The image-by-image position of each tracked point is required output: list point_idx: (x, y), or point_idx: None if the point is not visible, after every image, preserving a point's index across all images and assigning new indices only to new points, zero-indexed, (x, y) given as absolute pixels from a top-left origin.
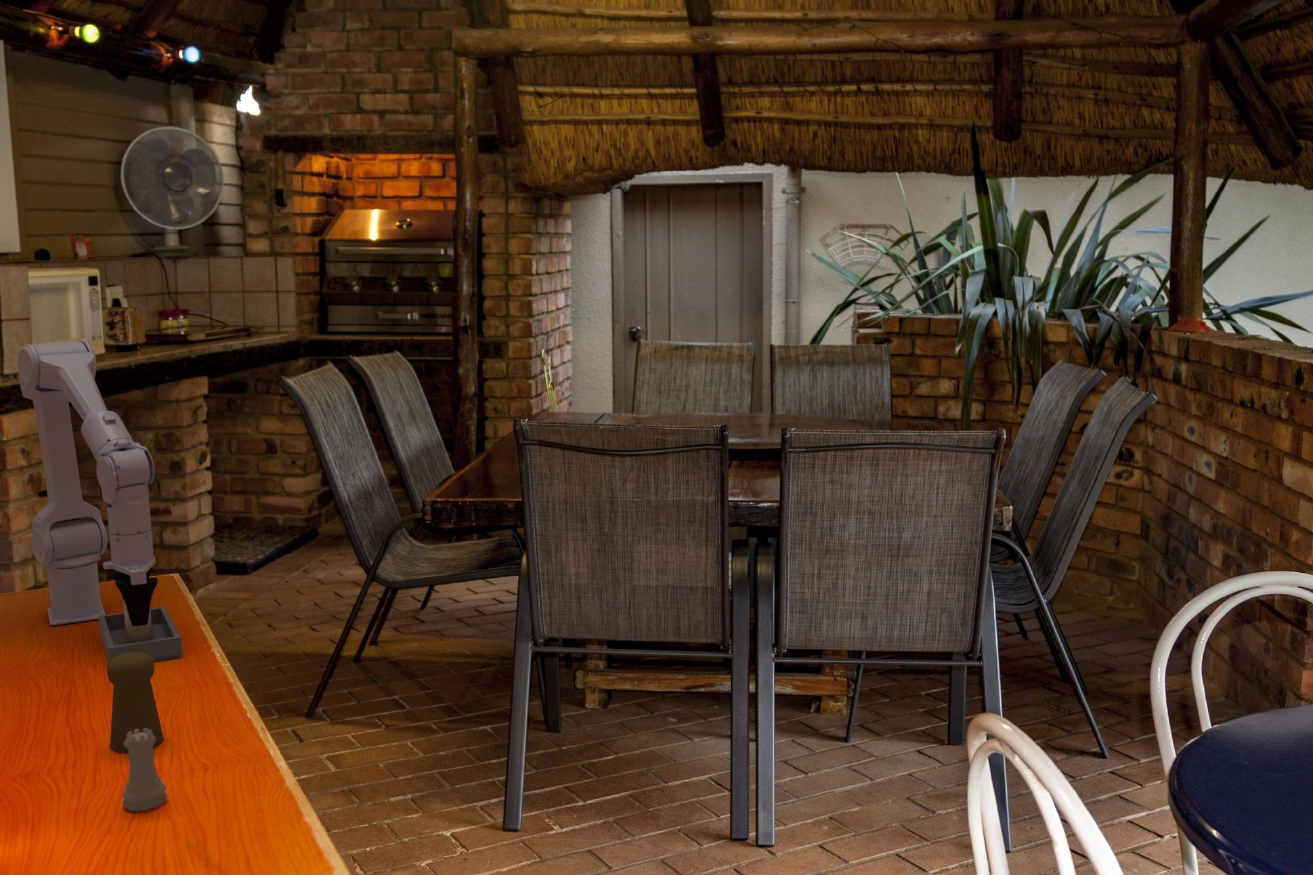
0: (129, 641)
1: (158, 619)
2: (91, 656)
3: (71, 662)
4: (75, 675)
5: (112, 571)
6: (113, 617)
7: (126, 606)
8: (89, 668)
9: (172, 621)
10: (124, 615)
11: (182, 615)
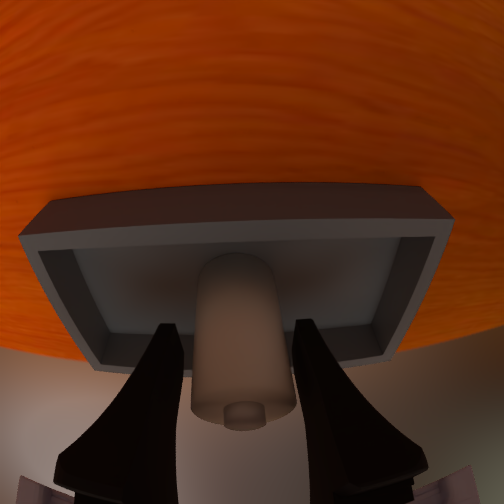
0: (210, 267)
1: (376, 327)
2: (190, 140)
3: (149, 78)
4: (24, 114)
5: (411, 474)
6: (422, 255)
7: (139, 385)
8: (67, 144)
9: None
10: (235, 330)
11: (411, 340)
